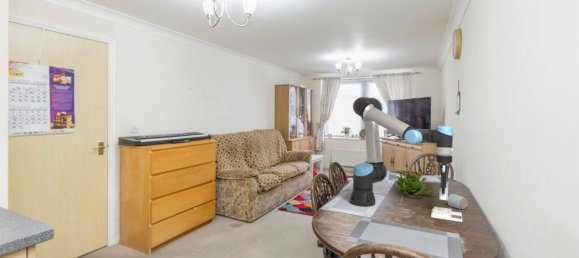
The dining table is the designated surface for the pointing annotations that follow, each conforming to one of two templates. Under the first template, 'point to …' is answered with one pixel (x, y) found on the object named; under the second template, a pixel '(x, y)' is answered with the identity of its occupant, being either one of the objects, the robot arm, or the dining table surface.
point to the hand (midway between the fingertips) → (443, 198)
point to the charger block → (446, 192)
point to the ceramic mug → (457, 201)
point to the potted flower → (411, 184)
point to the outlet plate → (446, 214)
